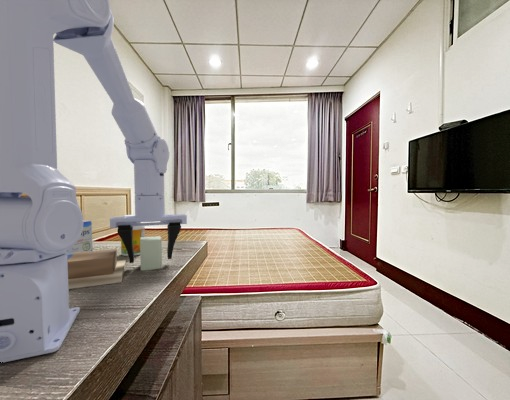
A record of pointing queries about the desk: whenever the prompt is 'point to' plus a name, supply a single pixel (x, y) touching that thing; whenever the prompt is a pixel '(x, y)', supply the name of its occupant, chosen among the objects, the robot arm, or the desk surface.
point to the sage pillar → (151, 252)
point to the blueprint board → (99, 278)
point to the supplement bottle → (134, 239)
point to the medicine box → (83, 240)
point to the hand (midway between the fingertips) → (151, 259)
